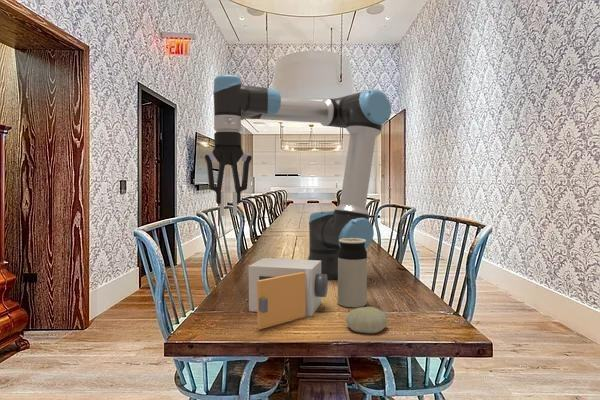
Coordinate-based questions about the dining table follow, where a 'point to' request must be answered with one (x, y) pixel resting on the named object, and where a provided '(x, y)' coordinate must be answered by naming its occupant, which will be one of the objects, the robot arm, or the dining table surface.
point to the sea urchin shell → (366, 320)
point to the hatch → (281, 299)
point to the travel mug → (352, 273)
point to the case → (281, 267)
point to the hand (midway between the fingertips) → (228, 215)
